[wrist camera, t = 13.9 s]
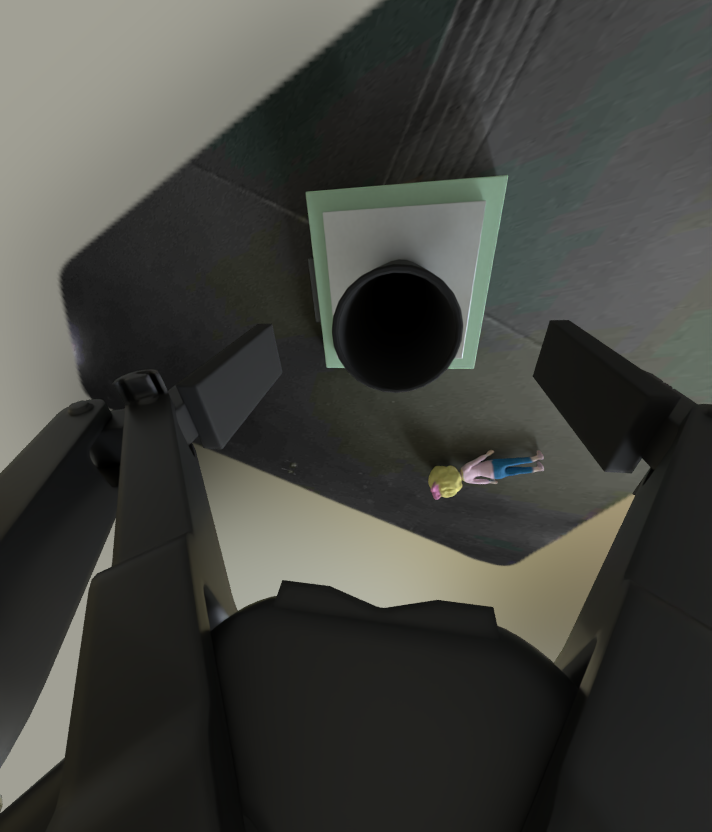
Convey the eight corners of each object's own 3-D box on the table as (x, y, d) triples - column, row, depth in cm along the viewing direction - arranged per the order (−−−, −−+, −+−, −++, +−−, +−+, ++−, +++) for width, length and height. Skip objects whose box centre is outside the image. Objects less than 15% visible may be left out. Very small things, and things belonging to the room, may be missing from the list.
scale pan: (324, 212, 25) (322, 212, 25) (484, 200, 23) (486, 200, 23) (338, 355, 32) (336, 358, 32) (461, 355, 31) (462, 358, 30)
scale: (307, 194, 27) (297, 192, 25) (498, 178, 25) (508, 174, 22) (326, 357, 36) (320, 367, 34) (468, 357, 34) (473, 369, 31)
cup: (346, 263, 27) (311, 291, 17) (432, 230, 24) (450, 241, 14) (372, 343, 30) (356, 404, 20) (448, 321, 28) (471, 377, 18)
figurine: (536, 435, 39) (422, 457, 43) (552, 457, 35) (426, 479, 39) (536, 467, 42) (430, 485, 46) (551, 491, 38) (434, 508, 42)
